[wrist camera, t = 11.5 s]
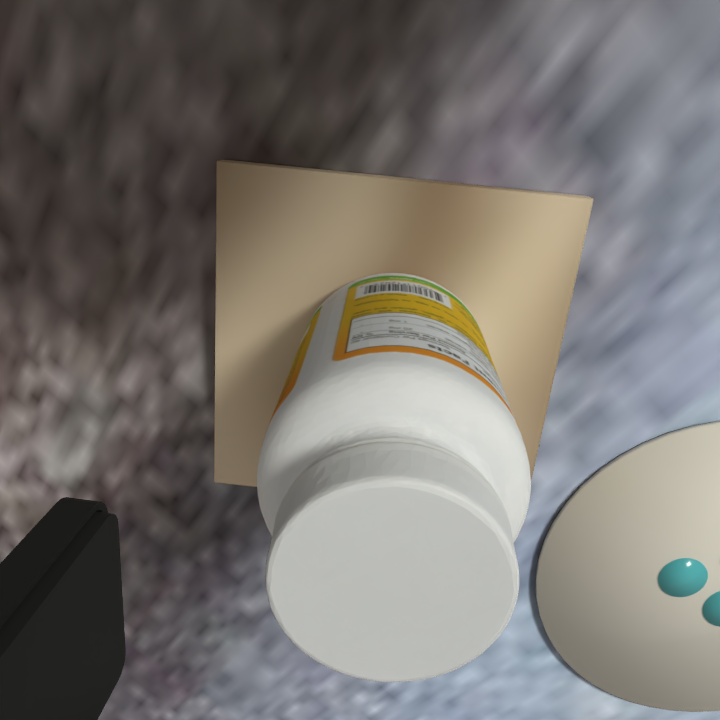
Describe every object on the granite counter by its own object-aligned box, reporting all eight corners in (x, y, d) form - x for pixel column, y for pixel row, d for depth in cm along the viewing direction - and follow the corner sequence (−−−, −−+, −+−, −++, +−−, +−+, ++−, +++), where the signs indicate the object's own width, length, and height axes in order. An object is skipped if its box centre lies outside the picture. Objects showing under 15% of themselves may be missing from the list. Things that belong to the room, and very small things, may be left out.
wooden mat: (587, 195, 18) (593, 199, 17) (519, 505, 21) (523, 516, 21) (222, 159, 18) (216, 161, 17) (218, 472, 22) (214, 482, 21)
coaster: (973, 441, 20) (980, 444, 19) (830, 724, 24) (834, 730, 24) (576, 398, 20) (578, 402, 20) (507, 687, 24) (508, 692, 24)
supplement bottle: (370, 469, 20) (351, 760, 11) (264, 336, 19) (146, 550, 10) (520, 381, 19) (632, 632, 10) (418, 230, 18) (443, 367, 9)
